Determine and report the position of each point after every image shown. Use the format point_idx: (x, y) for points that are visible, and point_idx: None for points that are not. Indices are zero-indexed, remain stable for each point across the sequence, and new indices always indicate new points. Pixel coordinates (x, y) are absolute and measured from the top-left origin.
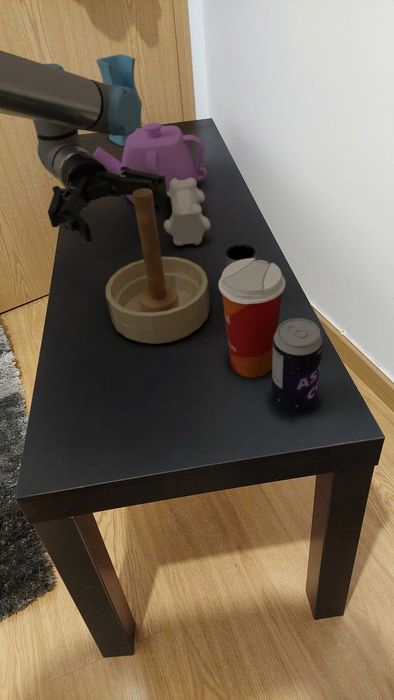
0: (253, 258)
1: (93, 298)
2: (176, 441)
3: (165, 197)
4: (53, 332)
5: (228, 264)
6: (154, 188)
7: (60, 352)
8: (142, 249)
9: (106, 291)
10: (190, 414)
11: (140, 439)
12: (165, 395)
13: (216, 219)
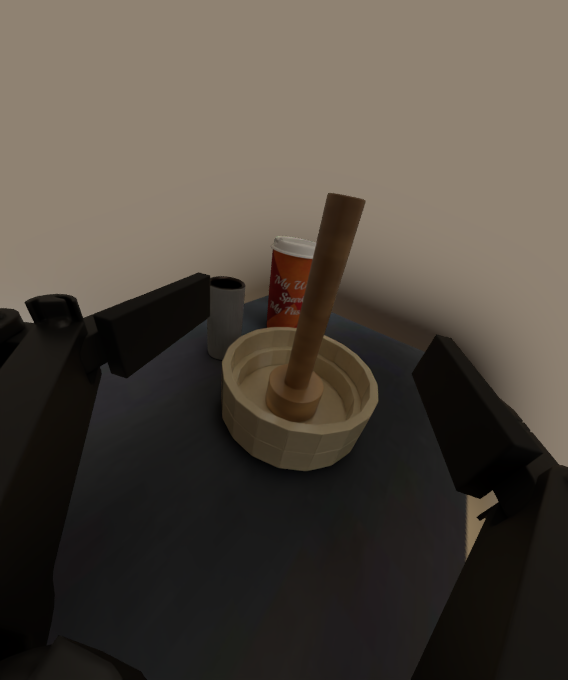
0: (280, 240)
1: (356, 548)
2: (364, 334)
3: (205, 276)
4: (457, 516)
5: (243, 296)
6: (151, 299)
7: (442, 460)
8: (330, 313)
9: (373, 406)
10: (346, 336)
11: (384, 346)
12: (353, 351)
13: None
